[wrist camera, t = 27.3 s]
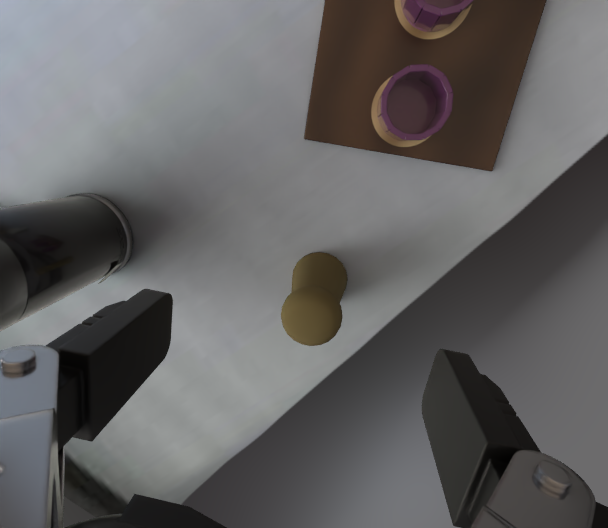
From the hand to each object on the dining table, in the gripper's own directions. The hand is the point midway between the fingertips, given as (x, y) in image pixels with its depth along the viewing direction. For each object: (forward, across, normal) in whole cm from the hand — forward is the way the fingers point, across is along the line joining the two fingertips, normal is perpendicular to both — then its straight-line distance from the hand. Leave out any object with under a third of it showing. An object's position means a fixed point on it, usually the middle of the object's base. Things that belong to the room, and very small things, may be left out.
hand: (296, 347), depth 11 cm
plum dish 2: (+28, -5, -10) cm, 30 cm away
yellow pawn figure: (+28, 0, +8) cm, 29 cm away
